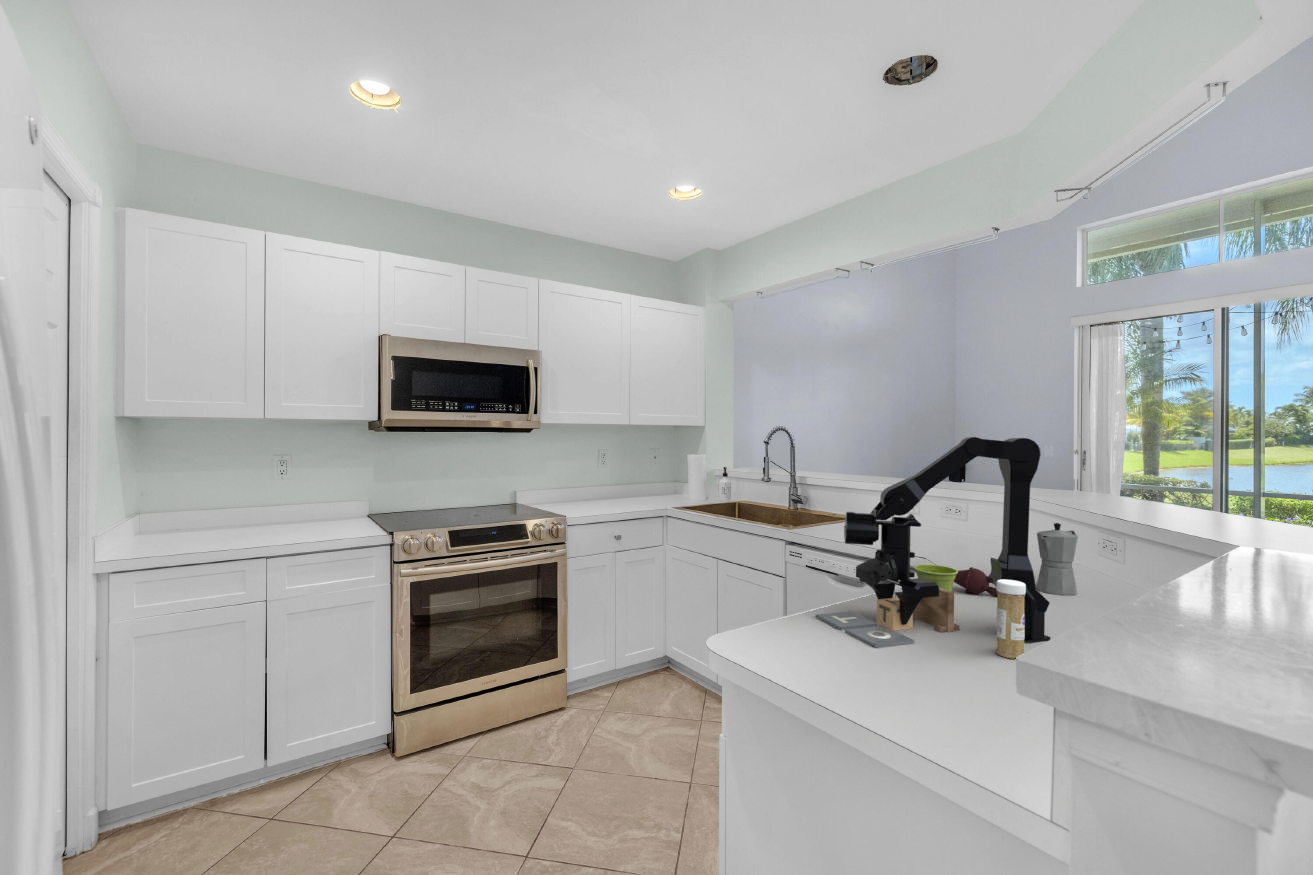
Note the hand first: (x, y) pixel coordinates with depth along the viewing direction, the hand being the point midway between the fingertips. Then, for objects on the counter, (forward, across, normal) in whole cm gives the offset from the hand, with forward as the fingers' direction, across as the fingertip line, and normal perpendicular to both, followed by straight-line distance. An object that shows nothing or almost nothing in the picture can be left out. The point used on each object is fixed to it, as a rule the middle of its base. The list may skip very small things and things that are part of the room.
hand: (894, 620), depth 122 cm
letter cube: (+1, 0, 0) cm, 1 cm away
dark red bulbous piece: (+1, -16, +38) cm, 42 cm away
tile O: (+1, +6, -8) cm, 10 cm away
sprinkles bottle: (+1, +20, +8) cm, 22 cm away
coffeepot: (+1, -12, +64) cm, 65 cm away
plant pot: (+1, -10, +20) cm, 23 cm away
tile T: (+1, -5, -8) cm, 10 cm away
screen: (+1, 0, +8) cm, 9 cm away
